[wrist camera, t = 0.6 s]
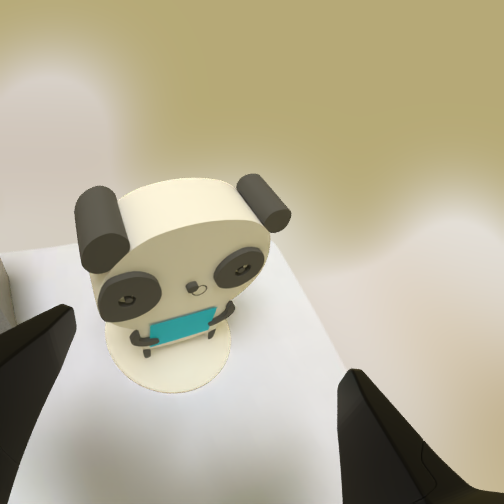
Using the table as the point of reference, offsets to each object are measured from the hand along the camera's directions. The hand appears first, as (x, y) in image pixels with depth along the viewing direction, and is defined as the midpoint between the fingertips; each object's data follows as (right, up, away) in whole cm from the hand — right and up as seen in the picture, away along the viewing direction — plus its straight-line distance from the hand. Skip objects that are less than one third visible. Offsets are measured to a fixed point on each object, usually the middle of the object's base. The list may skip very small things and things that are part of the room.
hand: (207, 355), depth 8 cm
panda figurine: (-6, -4, +16) cm, 18 cm away
